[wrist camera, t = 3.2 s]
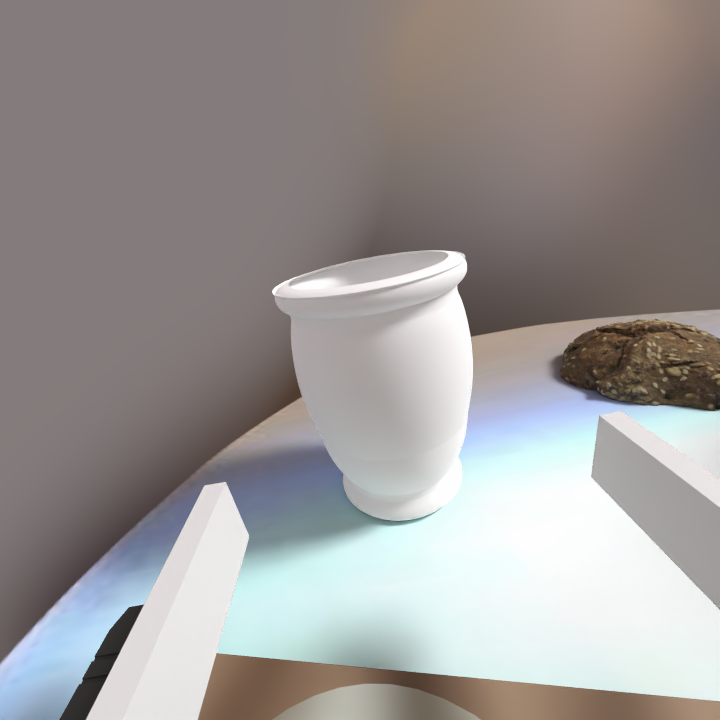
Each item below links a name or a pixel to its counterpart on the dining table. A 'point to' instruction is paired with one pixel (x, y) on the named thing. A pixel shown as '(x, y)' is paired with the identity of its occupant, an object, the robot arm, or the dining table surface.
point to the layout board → (414, 696)
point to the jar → (386, 375)
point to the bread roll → (647, 364)
